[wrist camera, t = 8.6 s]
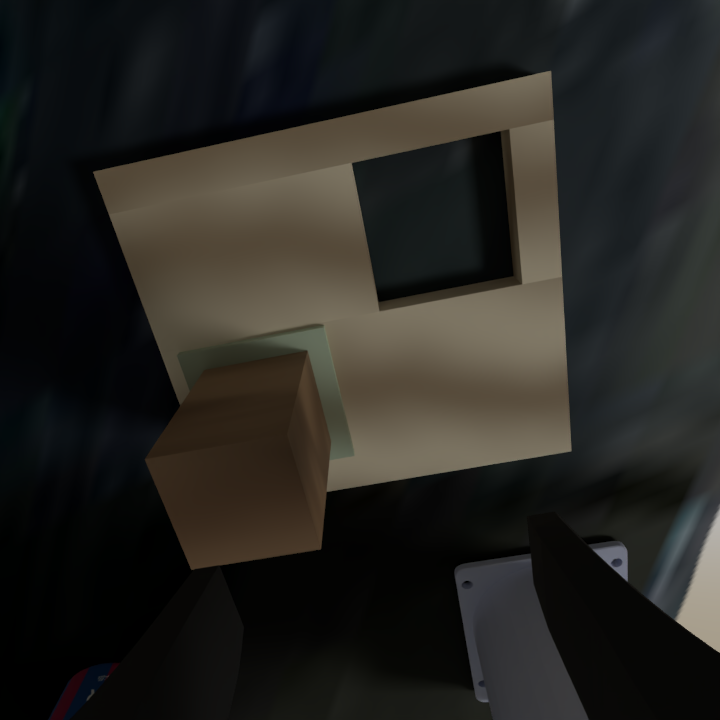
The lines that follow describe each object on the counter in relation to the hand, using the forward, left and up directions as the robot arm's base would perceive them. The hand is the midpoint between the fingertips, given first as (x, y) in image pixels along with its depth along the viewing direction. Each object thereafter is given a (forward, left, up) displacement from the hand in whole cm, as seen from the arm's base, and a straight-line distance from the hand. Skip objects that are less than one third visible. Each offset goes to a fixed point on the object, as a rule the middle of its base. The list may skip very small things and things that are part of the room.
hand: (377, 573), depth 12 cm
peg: (0, +4, -9) cm, 10 cm away
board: (+3, 0, -10) cm, 11 cm away
